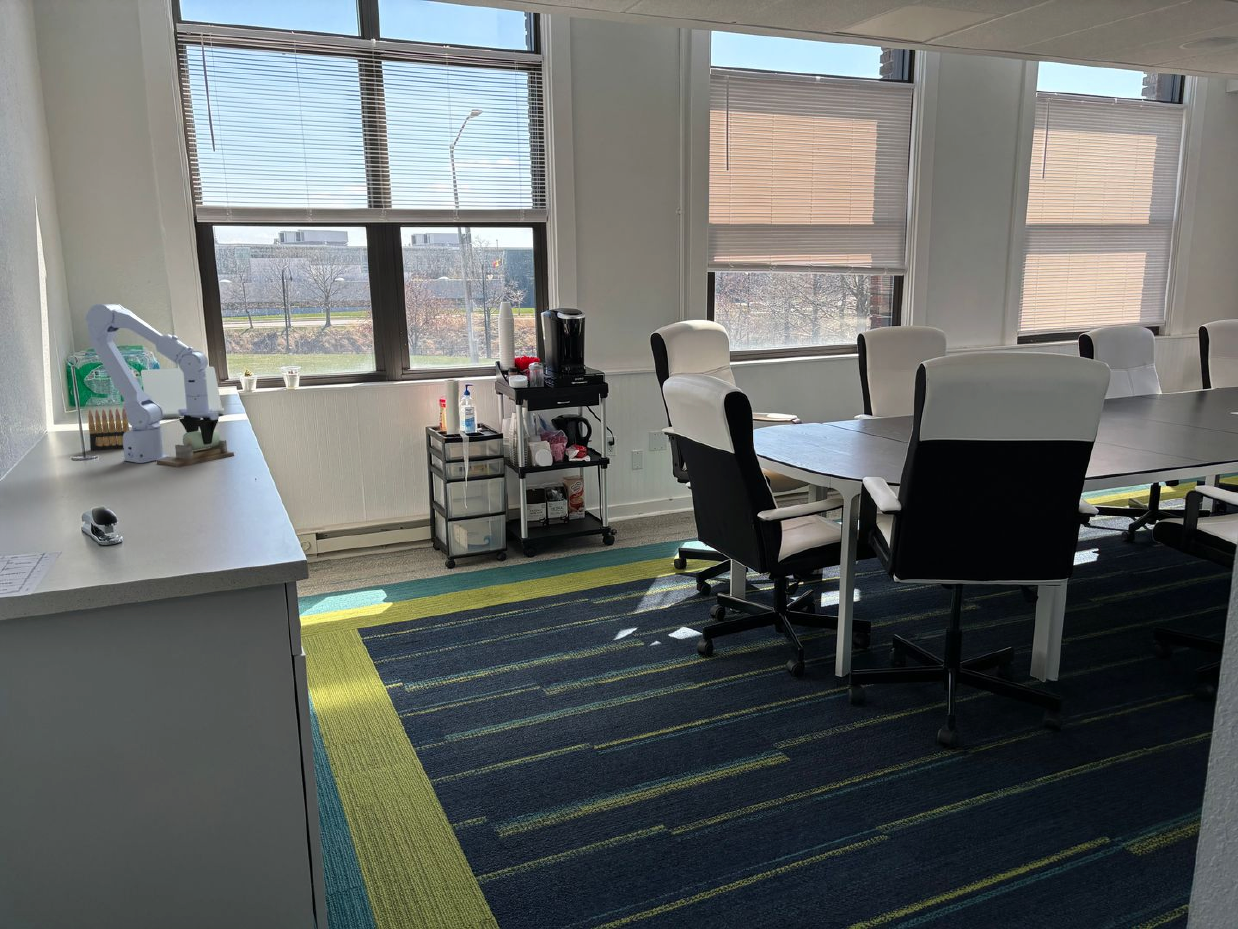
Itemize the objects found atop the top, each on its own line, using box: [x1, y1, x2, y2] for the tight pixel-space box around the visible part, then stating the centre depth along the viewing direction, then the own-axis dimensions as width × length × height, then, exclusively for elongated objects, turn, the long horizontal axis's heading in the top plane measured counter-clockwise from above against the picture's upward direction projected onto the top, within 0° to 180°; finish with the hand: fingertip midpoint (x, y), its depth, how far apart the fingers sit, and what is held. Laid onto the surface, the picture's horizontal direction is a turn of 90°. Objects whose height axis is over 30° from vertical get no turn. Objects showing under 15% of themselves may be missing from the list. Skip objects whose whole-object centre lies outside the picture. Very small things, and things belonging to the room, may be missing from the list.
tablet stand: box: [140, 366, 225, 420], centre depth 337 cm, size 18×25×17 cm
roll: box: [182, 429, 221, 451], centre depth 258 cm, size 8×5×5 cm, turn 152°
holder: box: [156, 439, 235, 468], centre depth 257 cm, size 18×9×4 cm, turn 151°
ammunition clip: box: [88, 408, 130, 452], centre depth 272 cm, size 11×2×12 cm, turn 114°
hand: (201, 443), depth 258 cm, fingers closed on roll, 5 cm apart
